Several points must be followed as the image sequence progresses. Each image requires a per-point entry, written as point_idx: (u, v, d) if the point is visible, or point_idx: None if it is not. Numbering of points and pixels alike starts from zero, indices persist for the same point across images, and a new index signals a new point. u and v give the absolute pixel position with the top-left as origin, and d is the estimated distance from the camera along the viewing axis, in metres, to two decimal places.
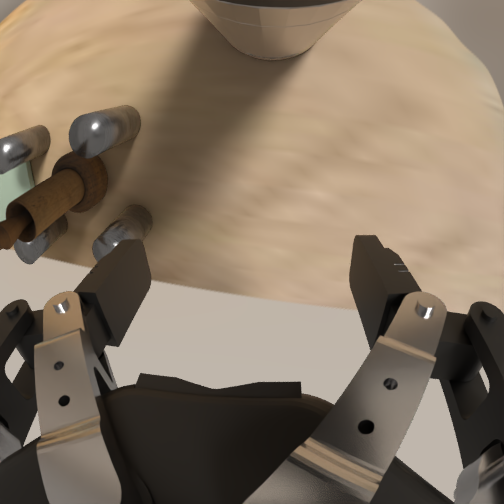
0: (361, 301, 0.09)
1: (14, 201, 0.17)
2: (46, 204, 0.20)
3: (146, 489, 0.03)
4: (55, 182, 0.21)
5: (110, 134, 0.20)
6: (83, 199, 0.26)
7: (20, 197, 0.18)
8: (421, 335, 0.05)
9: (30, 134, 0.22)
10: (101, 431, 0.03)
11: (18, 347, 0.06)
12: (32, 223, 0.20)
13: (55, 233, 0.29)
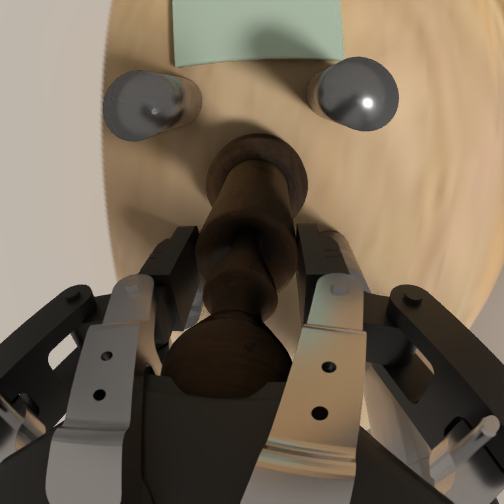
0: (299, 285, 0.10)
1: (296, 259, 0.11)
2: None
3: (146, 489, 0.03)
4: None
5: None
6: None
7: None
8: (343, 314, 0.06)
9: None
10: (101, 431, 0.03)
11: (77, 335, 0.07)
12: (229, 246, 0.12)
13: None
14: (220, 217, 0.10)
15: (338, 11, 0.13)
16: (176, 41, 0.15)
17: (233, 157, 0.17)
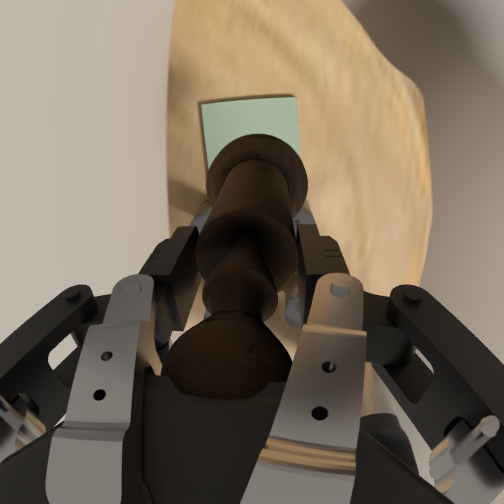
0: (299, 285, 0.10)
1: (297, 259, 0.11)
2: None
3: (146, 489, 0.03)
4: None
5: None
6: None
7: None
8: (343, 314, 0.06)
9: None
10: (101, 431, 0.03)
11: (77, 335, 0.07)
12: (229, 246, 0.12)
13: None
14: (220, 217, 0.10)
15: None
16: None
17: (232, 157, 0.17)
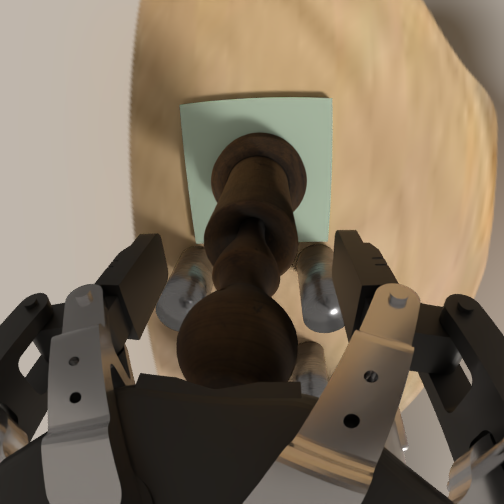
0: (341, 294, 0.10)
1: (296, 245, 0.12)
2: None
3: (146, 489, 0.03)
4: None
5: None
6: None
7: None
8: (396, 326, 0.06)
9: None
10: (101, 431, 0.03)
11: (36, 341, 0.07)
12: (235, 234, 0.13)
13: None
14: (227, 206, 0.11)
15: (328, 199, 0.22)
16: (195, 223, 0.24)
17: (236, 154, 0.18)
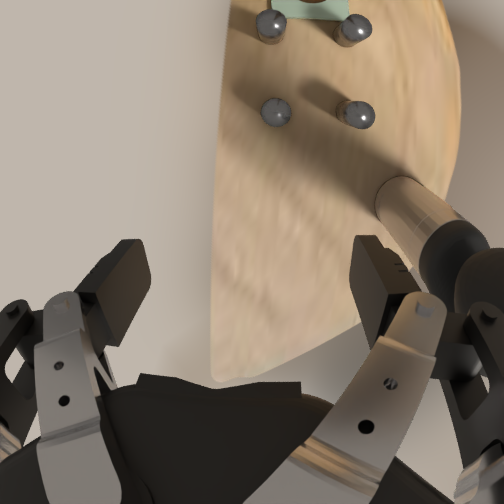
0: (361, 301, 0.09)
1: None
2: None
3: (146, 489, 0.03)
4: None
5: None
6: None
7: None
8: (421, 335, 0.05)
9: None
10: (101, 431, 0.03)
11: (18, 347, 0.06)
12: None
13: (269, 40, 0.31)
14: None
15: (346, 0, 0.28)
16: (273, 6, 0.30)
17: None
